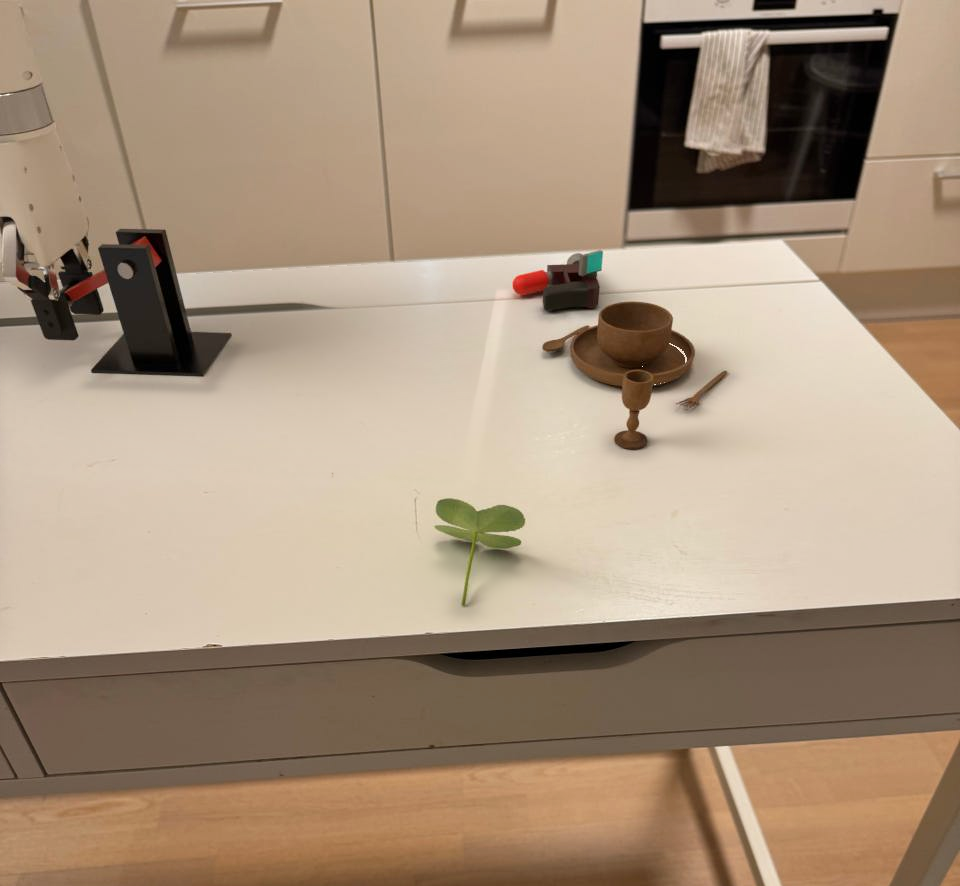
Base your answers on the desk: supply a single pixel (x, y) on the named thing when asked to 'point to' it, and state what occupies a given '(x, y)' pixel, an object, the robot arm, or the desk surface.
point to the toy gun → (565, 282)
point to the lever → (97, 279)
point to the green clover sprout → (479, 526)
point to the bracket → (152, 312)
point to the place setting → (632, 357)
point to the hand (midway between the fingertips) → (74, 323)
